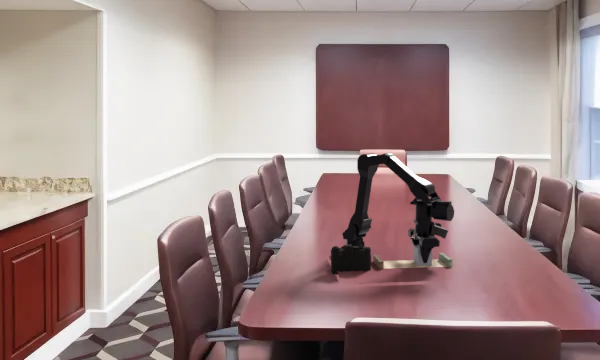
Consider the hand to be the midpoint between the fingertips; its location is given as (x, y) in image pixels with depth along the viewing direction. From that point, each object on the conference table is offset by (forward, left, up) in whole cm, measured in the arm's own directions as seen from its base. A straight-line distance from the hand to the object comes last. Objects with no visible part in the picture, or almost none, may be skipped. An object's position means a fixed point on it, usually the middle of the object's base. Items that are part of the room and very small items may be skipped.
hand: (422, 260), depth 199 cm
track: (-4, 0, -2) cm, 4 cm away
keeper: (0, 0, -1) cm, 1 cm away
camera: (-27, -2, -2) cm, 27 cm away
